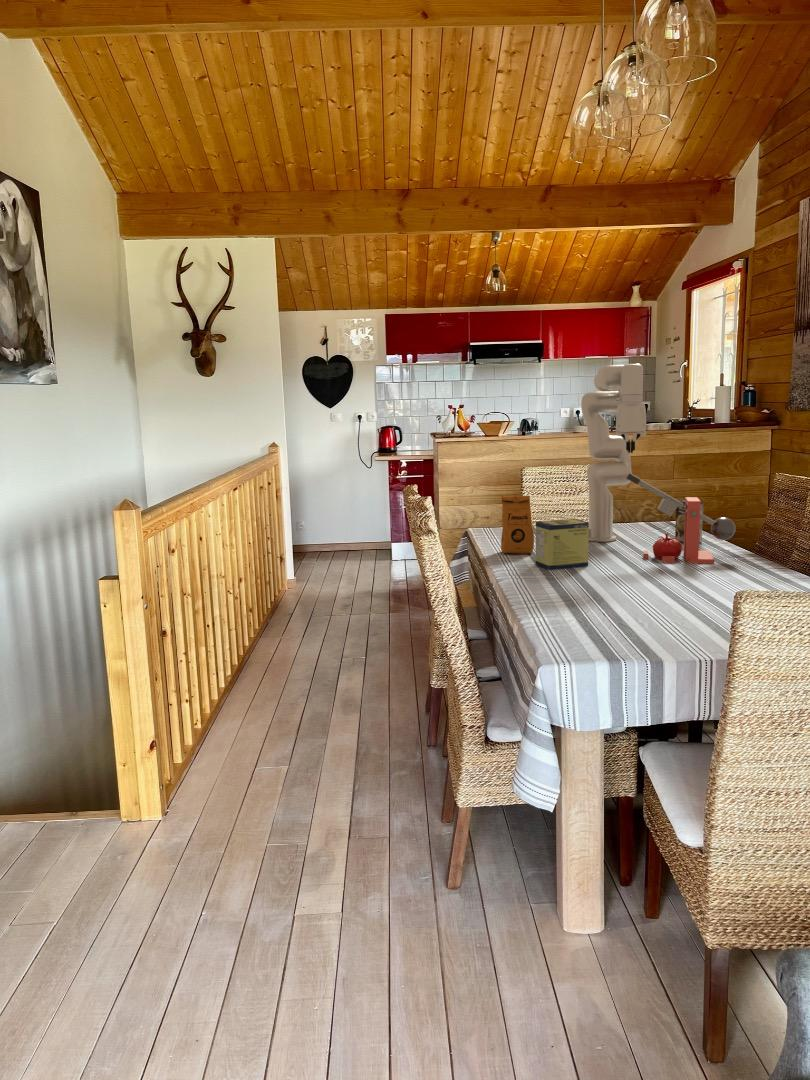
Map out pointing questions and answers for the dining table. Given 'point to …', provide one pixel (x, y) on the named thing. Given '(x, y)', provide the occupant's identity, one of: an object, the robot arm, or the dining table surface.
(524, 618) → the dining table surface
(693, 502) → the press stand
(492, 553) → the dining table surface
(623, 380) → the robot arm
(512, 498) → the coffee package
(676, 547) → the pomegranate
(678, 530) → the coffee box
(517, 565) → the dining table surface
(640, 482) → the lever
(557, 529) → the protein box
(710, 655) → the dining table surface
